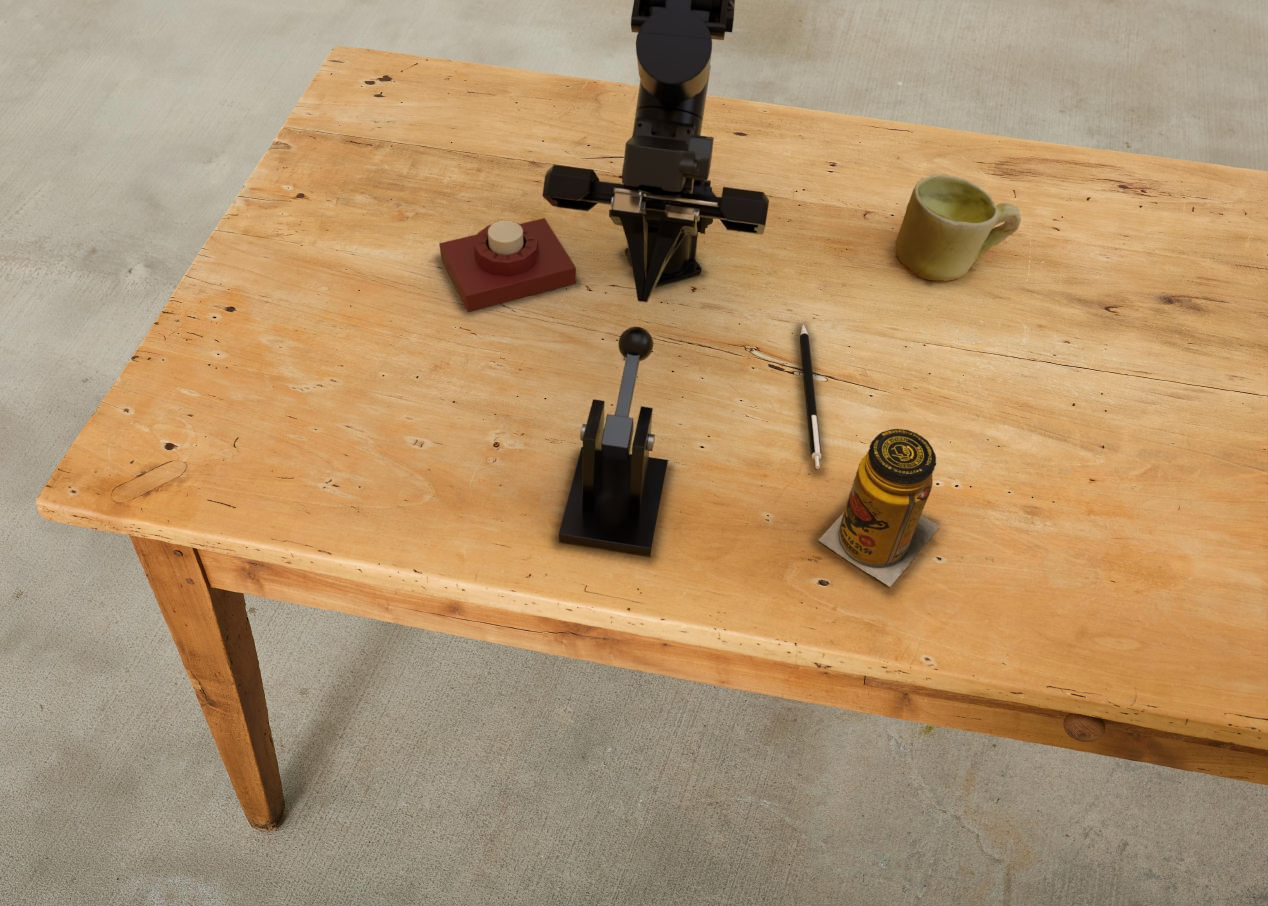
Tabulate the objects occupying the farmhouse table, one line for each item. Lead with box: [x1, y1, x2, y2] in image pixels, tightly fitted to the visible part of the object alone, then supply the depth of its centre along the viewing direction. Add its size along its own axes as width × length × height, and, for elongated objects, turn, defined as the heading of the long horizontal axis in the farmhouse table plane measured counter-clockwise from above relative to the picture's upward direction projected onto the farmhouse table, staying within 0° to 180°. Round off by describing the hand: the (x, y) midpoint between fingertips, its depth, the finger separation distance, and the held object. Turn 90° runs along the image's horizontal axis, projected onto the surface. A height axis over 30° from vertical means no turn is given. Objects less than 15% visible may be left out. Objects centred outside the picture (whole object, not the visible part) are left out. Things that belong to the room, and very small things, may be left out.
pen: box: [799, 324, 822, 470], centre depth 103 cm, size 1×19×1 cm, turn 178°
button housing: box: [438, 217, 577, 313], centre depth 111 cm, size 12×9×4 cm
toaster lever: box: [601, 326, 654, 460], centre depth 88 cm, size 12×3×3 cm, turn 171°
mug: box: [894, 173, 1022, 282], centre depth 114 cm, size 12×10×10 cm
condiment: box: [817, 428, 941, 588], centre depth 88 cm, size 7×8×12 cm
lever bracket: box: [558, 398, 669, 557], centre depth 89 cm, size 10×8×11 cm
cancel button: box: [488, 220, 523, 255], centre depth 109 cm, size 4×4×2 cm
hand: (642, 301), depth 90 cm, fingers closed
